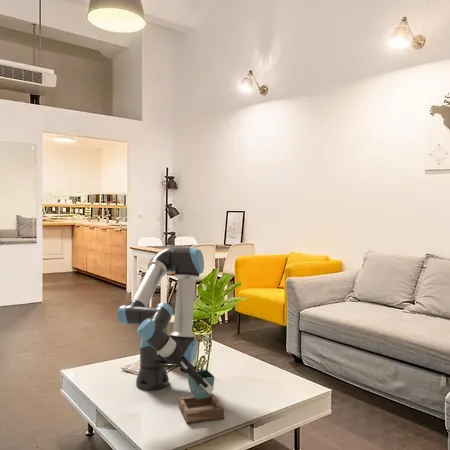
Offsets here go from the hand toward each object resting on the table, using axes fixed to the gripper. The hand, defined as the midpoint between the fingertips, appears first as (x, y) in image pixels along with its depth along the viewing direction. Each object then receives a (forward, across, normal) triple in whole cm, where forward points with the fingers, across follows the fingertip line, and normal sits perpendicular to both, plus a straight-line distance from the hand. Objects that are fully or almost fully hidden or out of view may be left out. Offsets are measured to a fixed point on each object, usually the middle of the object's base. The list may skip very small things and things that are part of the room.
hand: (208, 386), depth 181 cm
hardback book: (+6, -64, -9) cm, 65 cm away
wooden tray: (+6, -1, -10) cm, 11 cm away
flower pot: (+1, 0, -5) cm, 5 cm away
